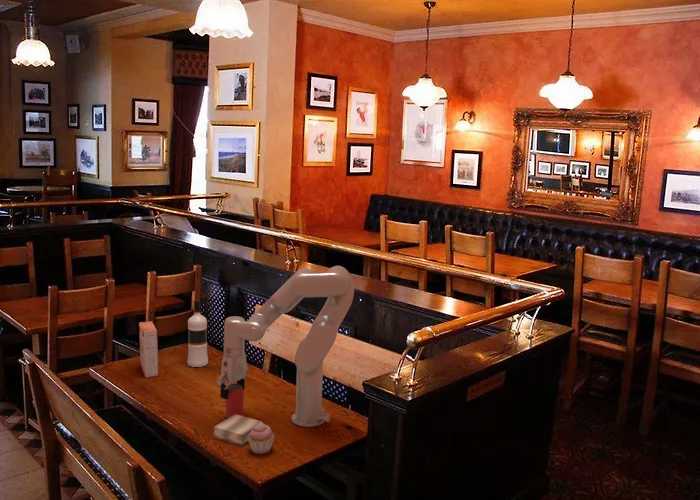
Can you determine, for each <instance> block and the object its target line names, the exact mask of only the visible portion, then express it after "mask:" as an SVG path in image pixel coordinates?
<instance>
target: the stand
mask: <svg viewBox="0 0 700 500" xmlns="http://www.w3.org/2000/svg"><path fill="white" fill-rule="evenodd" d="M260 422H262V423H263V421H261V420H257V419H254V418H250V417H247V416H245V415H243V416H240V415H237V414H234V415H233V416H231V417H229V418H227V419H225V420H223V421H222V422H220V423H218V424H216V425H215V426H214V427H213V435H212V437H213V438H214V439H217V440H220V441H223V442H227V443H230V444H234V445H236V444H237V446H240V447H243V446H245V445H246V444H248V443H249V440H248V439H247V437H248V436H249V434H250V432H251V430H252V429H253V427H254V426H255V425H257V424H259V423H260ZM247 442H248V443H247Z"/></svg>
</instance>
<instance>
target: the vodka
mask: <svg viewBox="0 0 700 500" xmlns="http://www.w3.org/2000/svg"><path fill="white" fill-rule="evenodd" d="M193 304H194V310H193V311H194V314H193V315H192V316H190V317H189V318H188V320H187V329H188V331H187V333H188V335H187V336H188V337H187V338H188V343H187V345H188V354H187V360H186V361H187V366H189V367H190V366H191V368H194V367H199V368H203V366H204V367H206V366H207V365H208V364H209V357H208V350H207V349H208V342H207V338H208V336H207V330H208V319H207V318H206V317H205V316H204V315H202V314H201V300H199V299H195V300H194V301H193Z"/></svg>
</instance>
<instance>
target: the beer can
mask: <svg viewBox="0 0 700 500" xmlns="http://www.w3.org/2000/svg"><path fill="white" fill-rule="evenodd" d="M227 389H229V394H228V399H225V417H226V418H227V419H228V418H229V417H231V416H233V415H234V414H237V415H240V416H245V415H244V413H245V412H244V407H245V405H244V404H245V403H244V402H245V401H244V399H245V398H244V396H245V395H244V393H245V392H244V391H243V388H242V385H240V384H237V383H232V384H231V383H230V384H229V386H228V388H227Z"/></svg>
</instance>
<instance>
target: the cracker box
mask: <svg viewBox="0 0 700 500" xmlns="http://www.w3.org/2000/svg"><path fill="white" fill-rule="evenodd" d="M138 326H139V327H138V328H139V329H138V330H139V331H138V332H139V351H140V353H139V355H140V356H139V357H140V367H141V371H142V372H143V373H142V374H143V375H144V379H146V378H154V377H159V355H158V353H159V351H158V350H159V349H158V330H157V328H156V326H155V324H154V322H153V321H141V322H140V321H139V323H138Z"/></svg>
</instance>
